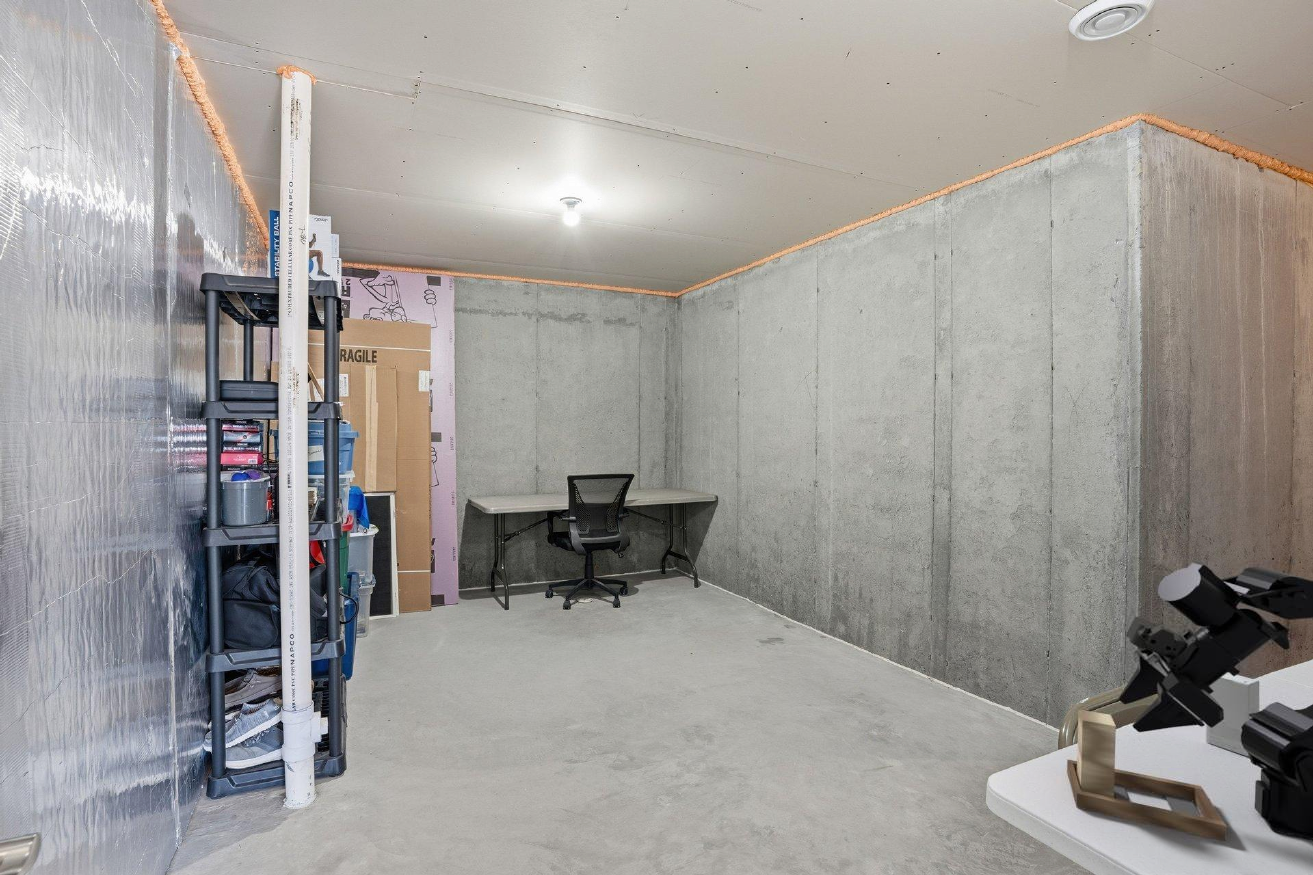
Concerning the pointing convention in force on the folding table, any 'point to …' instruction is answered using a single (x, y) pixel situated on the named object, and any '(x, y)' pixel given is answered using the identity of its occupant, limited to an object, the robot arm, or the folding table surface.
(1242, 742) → the robot arm
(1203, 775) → the folding table surface
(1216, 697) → the skincare box
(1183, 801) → the pads
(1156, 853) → the folding table surface
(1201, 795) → the brown rectangular frame
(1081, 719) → the maple block
